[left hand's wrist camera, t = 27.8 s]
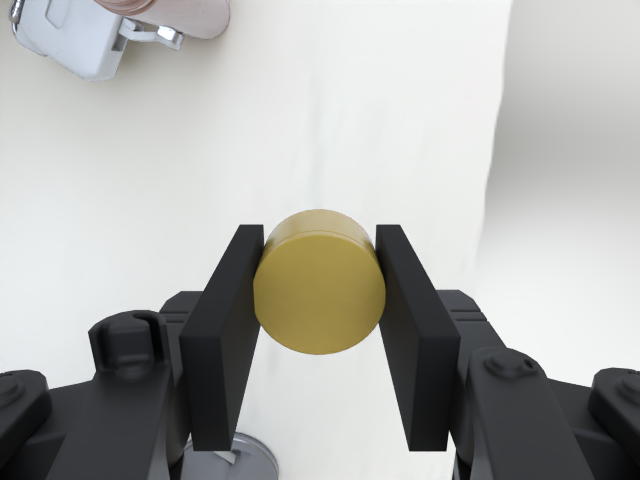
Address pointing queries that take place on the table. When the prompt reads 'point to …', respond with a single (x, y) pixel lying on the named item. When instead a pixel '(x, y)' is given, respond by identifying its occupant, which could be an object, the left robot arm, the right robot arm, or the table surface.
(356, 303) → the cap
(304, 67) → the table surface
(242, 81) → the table surface
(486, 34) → the table surface
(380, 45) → the table surface
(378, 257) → the left robot arm
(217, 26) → the bottle
